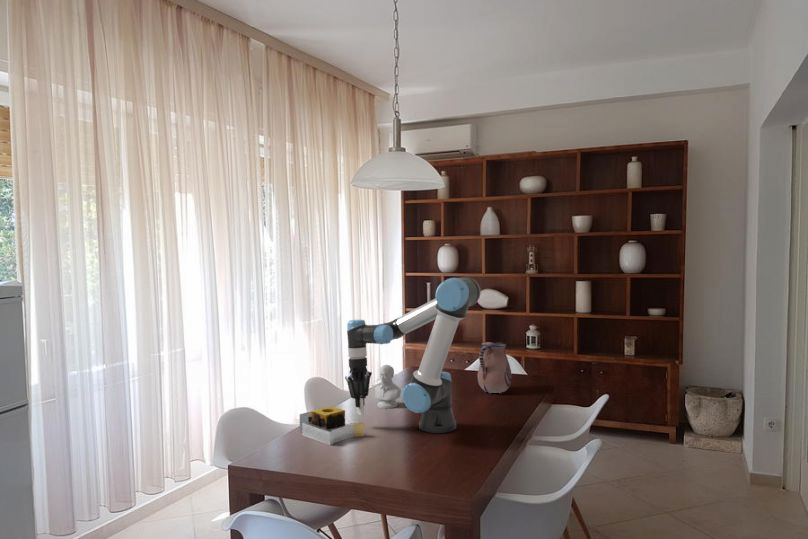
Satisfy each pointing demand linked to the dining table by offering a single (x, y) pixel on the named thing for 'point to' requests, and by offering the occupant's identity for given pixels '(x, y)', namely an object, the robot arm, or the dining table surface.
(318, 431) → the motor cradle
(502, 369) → the ceramic pitcher
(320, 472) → the dining table surface
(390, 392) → the figurine
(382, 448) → the dining table surface
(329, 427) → the yellow and black cube
